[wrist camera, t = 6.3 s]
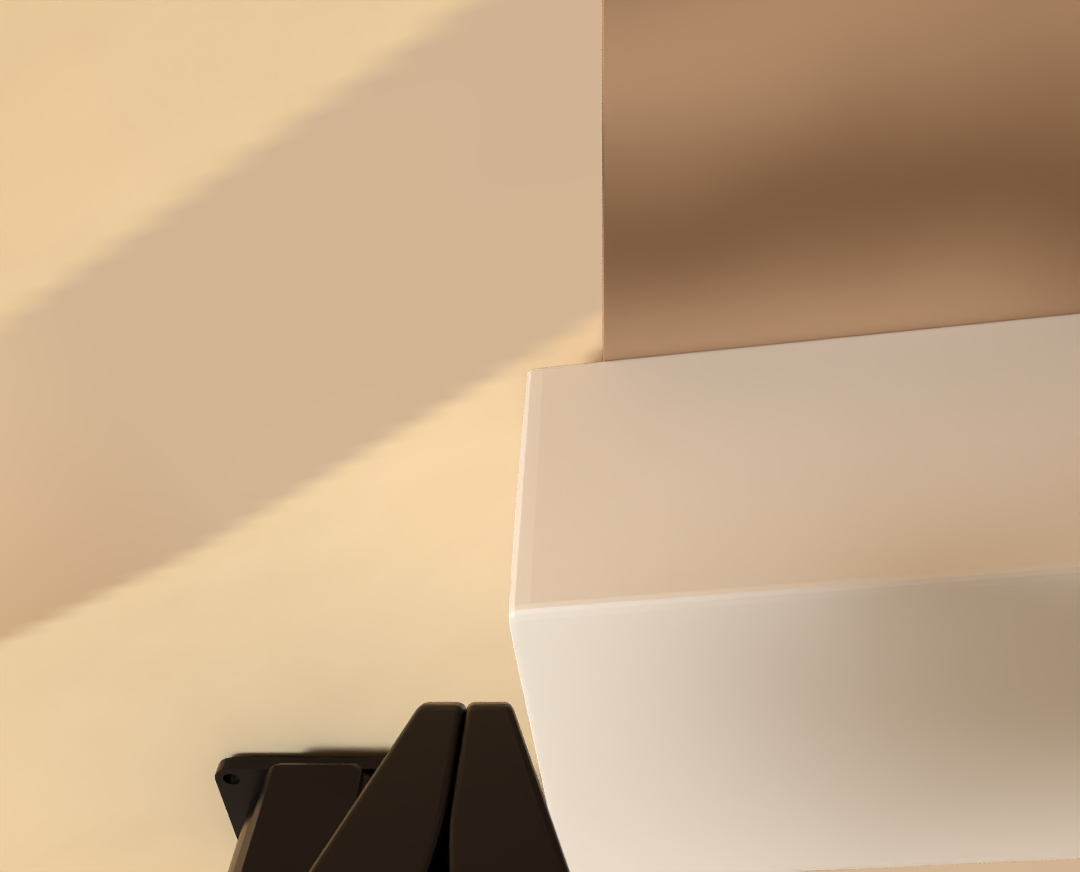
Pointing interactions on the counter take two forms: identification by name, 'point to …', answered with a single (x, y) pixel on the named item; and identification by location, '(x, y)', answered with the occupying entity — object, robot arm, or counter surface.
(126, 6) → the counter surface
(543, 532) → the milk carton
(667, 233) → the walnut board
